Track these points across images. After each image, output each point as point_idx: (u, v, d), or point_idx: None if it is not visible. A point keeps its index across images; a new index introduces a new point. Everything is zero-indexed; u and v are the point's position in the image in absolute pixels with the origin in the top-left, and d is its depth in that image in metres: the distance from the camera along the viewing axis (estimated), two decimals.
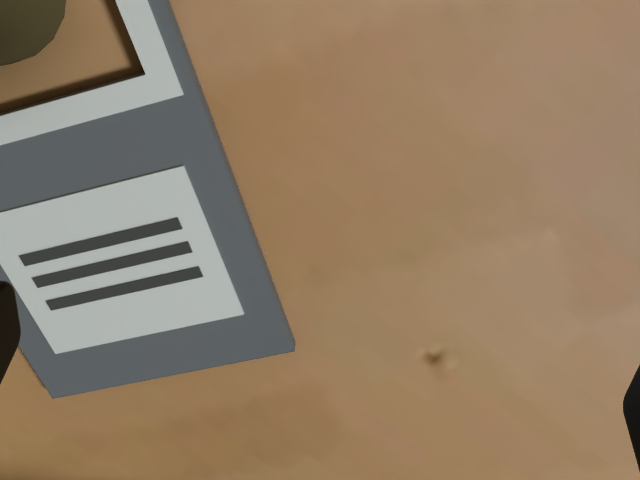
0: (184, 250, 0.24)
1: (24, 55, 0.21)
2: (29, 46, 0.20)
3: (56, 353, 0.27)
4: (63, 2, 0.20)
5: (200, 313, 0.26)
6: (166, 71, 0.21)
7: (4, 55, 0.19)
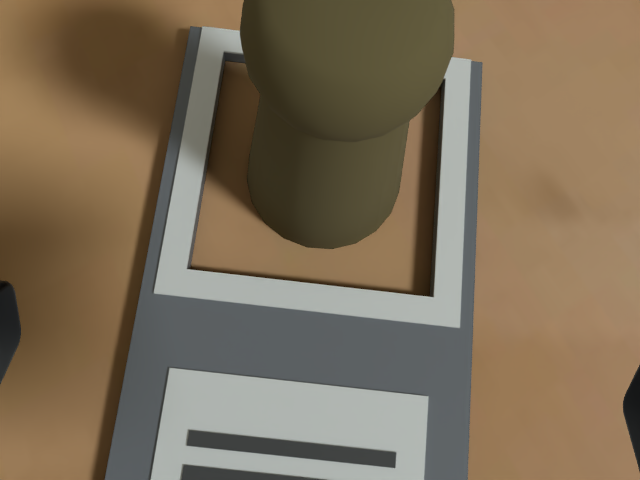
0: None
1: (336, 239, 0.22)
2: (351, 232, 0.22)
3: None
4: (381, 221, 0.23)
5: None
6: (452, 302, 0.22)
7: (345, 221, 0.21)
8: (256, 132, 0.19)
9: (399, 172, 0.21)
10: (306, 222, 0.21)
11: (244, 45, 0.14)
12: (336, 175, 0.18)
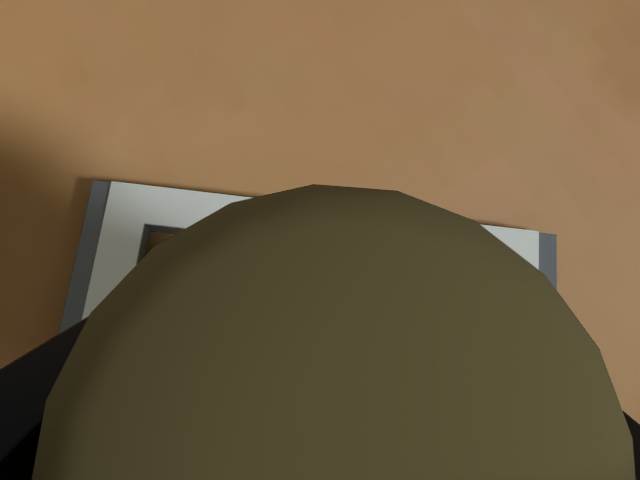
0: None
1: None
2: None
3: None
4: None
5: None
6: None
7: None
8: None
9: None
10: None
11: None
12: None
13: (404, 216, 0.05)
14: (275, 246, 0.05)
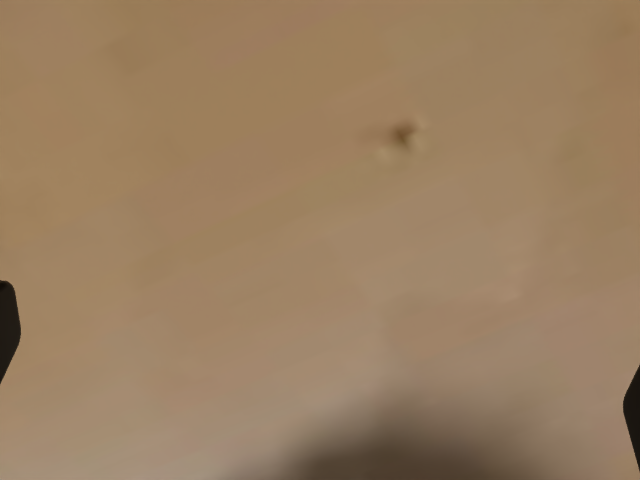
0: None
1: None
2: None
3: None
4: None
5: None
6: None
7: None
8: None
9: None
10: None
11: None
12: None
13: None
14: None
